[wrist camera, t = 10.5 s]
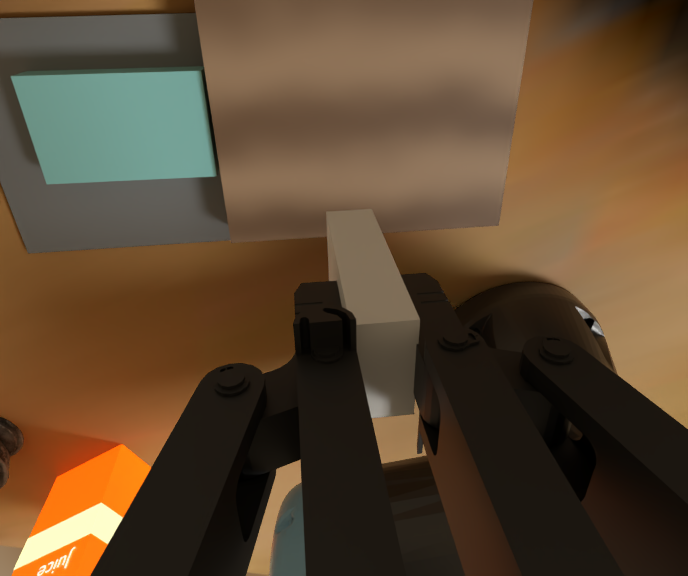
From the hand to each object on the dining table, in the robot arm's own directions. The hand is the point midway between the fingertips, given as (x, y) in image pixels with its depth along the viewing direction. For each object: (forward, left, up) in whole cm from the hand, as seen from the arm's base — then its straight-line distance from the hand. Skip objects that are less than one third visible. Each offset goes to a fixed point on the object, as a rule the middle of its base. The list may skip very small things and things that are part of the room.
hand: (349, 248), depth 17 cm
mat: (-1, +13, -18) cm, 22 cm away
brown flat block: (0, -3, -18) cm, 18 cm away
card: (+1, +11, -17) cm, 20 cm away
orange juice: (-33, +20, -18) cm, 42 cm away
